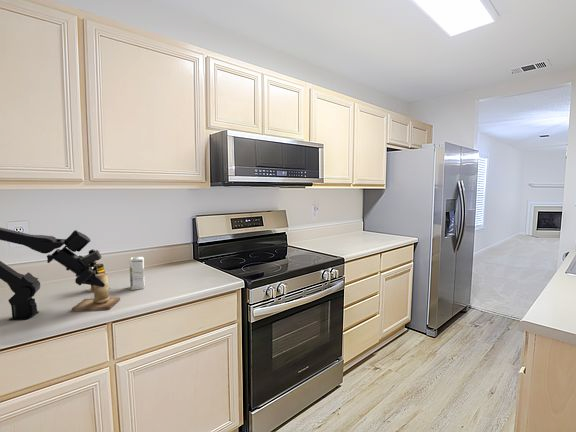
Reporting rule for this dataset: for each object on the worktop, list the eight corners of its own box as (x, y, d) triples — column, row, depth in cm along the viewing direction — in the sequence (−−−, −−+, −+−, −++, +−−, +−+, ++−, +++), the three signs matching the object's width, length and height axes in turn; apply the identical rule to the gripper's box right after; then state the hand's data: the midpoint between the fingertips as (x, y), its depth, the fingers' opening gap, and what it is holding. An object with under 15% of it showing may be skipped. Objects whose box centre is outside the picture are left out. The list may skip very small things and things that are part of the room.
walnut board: (71, 311, 123) (71, 308, 123) (85, 301, 133) (84, 298, 133) (109, 309, 125) (109, 306, 125) (120, 300, 135) (120, 297, 135)
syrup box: (131, 286, 152) (130, 257, 151) (145, 285, 154) (143, 256, 153) (130, 290, 147) (128, 259, 146) (144, 288, 149) (142, 258, 148)
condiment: (95, 293, 143) (93, 267, 142) (84, 290, 147) (83, 265, 146) (110, 288, 150) (109, 263, 149) (100, 285, 154) (98, 261, 153)
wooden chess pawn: (90, 303, 126) (88, 277, 125) (97, 297, 132) (95, 273, 130) (106, 302, 126) (104, 277, 125) (112, 297, 132) (111, 272, 131)
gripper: (83, 249, 116) (119, 274, 123) (89, 240, 133) (120, 263, 139) (59, 272, 114) (96, 297, 120) (67, 261, 130) (100, 283, 136)
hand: (104, 284), depth 129 cm, fingers closed on wooden chess pawn, 5 cm apart
